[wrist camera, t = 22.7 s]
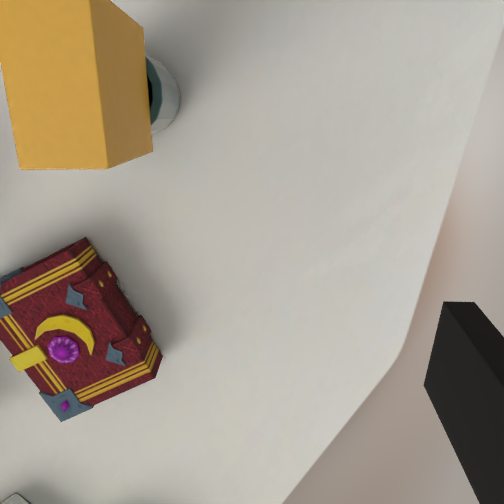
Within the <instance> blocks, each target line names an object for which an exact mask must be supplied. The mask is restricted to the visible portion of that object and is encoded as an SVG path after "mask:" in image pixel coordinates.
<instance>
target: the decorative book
mask: <svg viewBox="0 0 504 504" xmlns="http://www.w3.org/2000/svg"><path fill="white" fill-rule="evenodd" d="M116 280H117V277H116V276H115V274H114V273H113V271H112V269H111V268H110V266H109V265H108V263H107V262H104V263H102V262H101V260H100V258H99V257H98V255H97V254H96V252H95V251H94V249H93V248H92V246H91V245H90V243H89V241H88V240H87V238H86V237H85V238H83V239H81V240H79V241H77V242H75V243H73V244H71V245H69V246H67V247H65V248H63V249H61V250H59V251H57V252H55V253H53V254H52V255H50V256H48V257H46V258H44V259H42V260H40V261H38V262H36V263H34V264H32V265H30V266H28V267H26V268H24V267H22V268H20V269H18V270H16V271H14V272H12V273H10V274H8V275H6V276H4V277H2V278H0V340H1V341H2V342H3V344H4V345H5V346H6V348H7V349H8V350H9V351H10V353H11V354H12V355H13V356H12V357H11V358H10V359H9V360H10V361H11V362H12V363H13V365H14V366H15V367H16V369H17V370H18V371H19V372H20V371H22V370H24V371H25V372H26V373H27V374H28V376H29V377H30V378H31V380H32V381H33V382H34V383H35V385H36V386H37V387H38V388H39V390H40V392H39V394H40V395H41V396H42V398H43V399H44V400H45V402H46V403H47V404H48V406H49V407H50V408H51V410H52V411H53V412H54V413H55V415H56V416H57V417H58V419H59V420H60V421H61V422H62V421H65V420H67V419H69V418H71V417H74V416H76V415H78V414H80V413H82V412H85V411H87V410H89V409H91V408H93V406H94V405H95V404H97V403H100V402H102V401H104V400H107V399H109V398H111V397H113V396H116V395H118V394H120V393H122V392H125V391H127V390H129V389H132V388H134V387H136V386H138V385H141V384H143V383H145V382H147V381H150V380H152V379H154V378H155V377H156V374H157V372H158V369H159V366H160V363H161V360H162V357H163V356H162V354H161V353H160V351H159V350H158V348H157V347H156V345H155V343H154V342H153V340H152V339H151V337H150V336H149V335H150V333H151V330H150V328H149V327H148V325H147V324H146V322H145V321H144V319H143V318H142V316H139V317H137V316H136V314H135V313H134V311H133V309H132V308H131V306H130V305H129V303H128V302H127V300H126V299H125V297H124V296H123V294H122V292H121V291H120V289H119V288H118V286H117V285H116V283H115V281H116Z"/></svg>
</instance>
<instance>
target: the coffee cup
mask: <svg viewBox="0 0 504 504" xmlns="http://www.w3.org/2000/svg"><path fill="white" fill-rule="evenodd" d="M145 57H146V70H147V82H148V95H149V108H150V120H151V133H152V134H154V133H156V132H159V131H161V130H163V129H165V128H166V127H168V126H169V125H170V124H171V123H172V121H173V120H174V119H175V117H176V115H177V112H178V110H179V105H180V93H179V88H178V85H177V82H176V80H175V78H174V77H173V75H172V74H171V72H170V71H169V70H168V69H167V68H166V67H165V66H163V64H161V63H160V62H158V61H157V60H155V59H153V58H152V57H150V56H148V55H147V54H145Z"/></svg>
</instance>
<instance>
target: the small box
mask: <svg viewBox="0 0 504 504" xmlns="http://www.w3.org/2000/svg"><path fill="white" fill-rule="evenodd" d="M1 504H29V503H28V502H27V501H26V500H24V499H23V498H22V497H21V496H19V495H18V494H16V493H15V494H13V495H12V496H11V497H9V498H8V499H7V500H5V501H4V502H2V503H1Z"/></svg>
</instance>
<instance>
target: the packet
mask: <svg viewBox="0 0 504 504" xmlns="http://www.w3.org/2000/svg"><path fill="white" fill-rule="evenodd" d="M0 62H1V68H2V73H3V79H4V84H5V90H6V95H7V101H8V106H9V112H10V118H11V123H12V129H13V134H14V140H15V145H16V151H17V156H18V162H19V167H20V169H22V170H29V169H109V168H111V167H114V166H117V165H119V164H122V163H124V162H127V161H130V160H132V159H135V158H137V157H140V156H143V155H145V154H148V153H150V152H153V145H152V133H151V120H150V108H149V95H148V82H147V70H146V57H145V45H144V32H143V27H141V26H140V25H139V24H138V23H137V22H135V21H134V20H133V19H132V18H131V17H129V16H128V15H127V14H126V13H124V12H123V11H122V10H121V9H120V8H118V7H117V6H116V5H115V4H114V3H112V2H111V1H110V0H0Z"/></svg>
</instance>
